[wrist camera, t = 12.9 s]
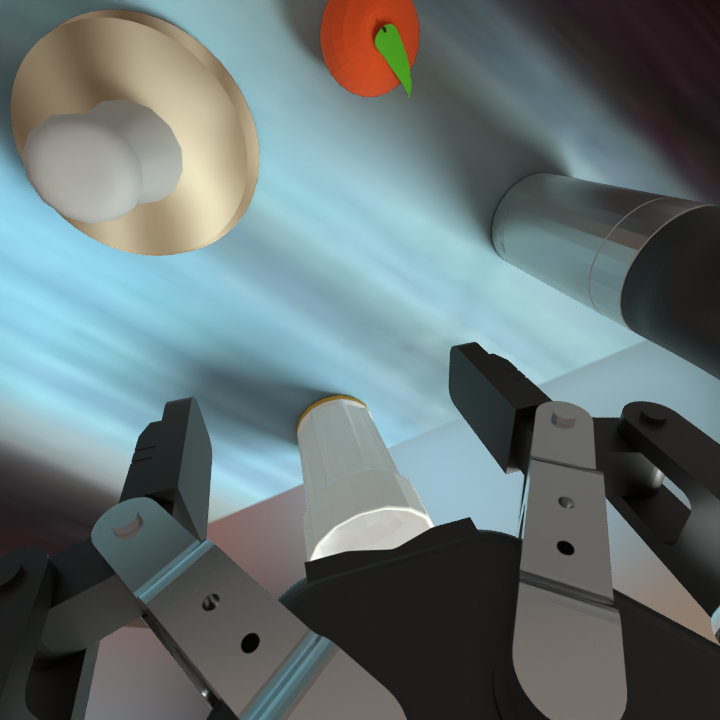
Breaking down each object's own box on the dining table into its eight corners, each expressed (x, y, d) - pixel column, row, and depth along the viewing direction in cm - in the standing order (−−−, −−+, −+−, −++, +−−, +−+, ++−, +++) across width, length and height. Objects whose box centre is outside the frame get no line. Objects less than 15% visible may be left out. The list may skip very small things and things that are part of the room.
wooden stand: (233, 7, 29) (233, -11, 25) (275, 236, 38) (279, 252, 34) (-24, 18, 27) (-73, 0, 22) (82, 263, 35) (61, 284, 31)
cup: (272, 407, 47) (289, 540, 32) (368, 373, 48) (426, 487, 33) (304, 474, 53) (329, 611, 38) (388, 443, 54) (444, 565, 39)
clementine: (423, 69, 34) (463, 61, 28) (358, 130, 35) (383, 133, 29) (366, -40, 30) (398, -78, 24) (293, 32, 31) (307, 13, 25)
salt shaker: (202, 180, 30) (182, 218, 19) (125, 210, 29) (60, 267, 19) (155, 85, 27) (98, 67, 16) (69, 118, 26) (-50, 122, 15)
